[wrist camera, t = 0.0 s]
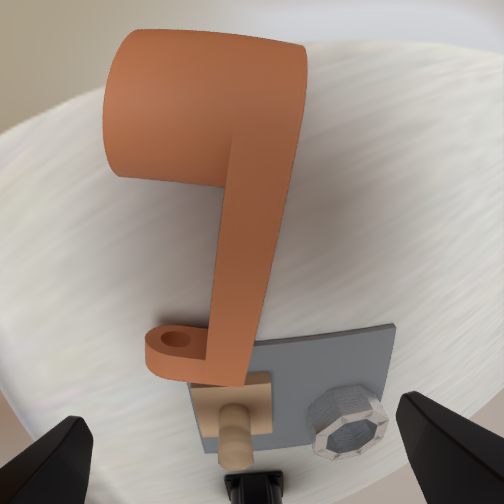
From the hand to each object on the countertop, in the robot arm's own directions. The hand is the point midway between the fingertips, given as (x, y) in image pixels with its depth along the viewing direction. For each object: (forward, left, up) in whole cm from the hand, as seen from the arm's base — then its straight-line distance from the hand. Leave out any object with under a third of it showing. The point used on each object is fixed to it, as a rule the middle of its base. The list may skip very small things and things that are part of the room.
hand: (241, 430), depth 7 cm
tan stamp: (-12, +1, -14) cm, 19 cm away
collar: (-15, -9, -14) cm, 22 cm away
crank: (+3, +2, -15) cm, 15 cm away
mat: (-13, -4, -15) cm, 20 cm away
